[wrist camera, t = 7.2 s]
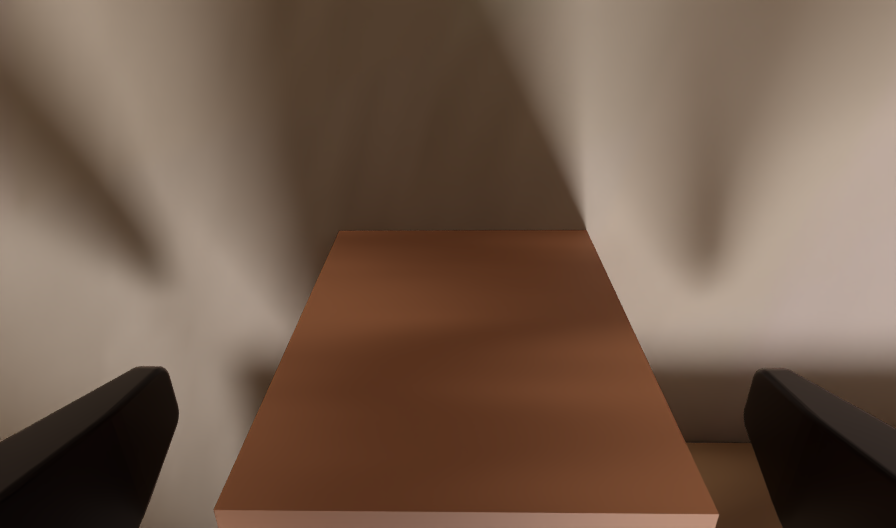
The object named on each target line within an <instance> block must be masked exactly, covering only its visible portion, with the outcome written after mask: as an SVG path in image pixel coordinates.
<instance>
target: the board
mask: <svg viewBox="0 0 896 528" xmlns="http://www.w3.org/2000/svg"><path fill="white" fill-rule="evenodd" d="M686 445H687V447H688V449H689V451H690V453H691V455H692V457H693V460H694V462H695V464H696V466H697V468H698V470H699V472H700V475H701V477H702V479H703V481H704V483H705V485H706V487H707V490H708V492H709V494H710V496H711V498H712V500H713V502H714V505H715V507H716V509H717V511H718V513H719V516H718V520H717V523H716V527H715V528H782V525H781V523H780V521H779V519H778V516H777V514H776V511H775V509H774V506H773V503H772V501H771V498H770V495H769V492H768V489H767V487H766V484H765V481H764V478H763V475H762V473H761V470H760V467H759V464H758V461H757V459H756V456H755V453H754V450H753V447H752V444H751V443H686Z"/></svg>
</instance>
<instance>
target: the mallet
mask: <svg viewBox="0 0 896 528" xmlns="http://www.w3.org/2000/svg"><path fill="white" fill-rule="evenodd" d="M214 513H215V517H216V521H217V524H218V528H715V527H716V523H717V520H718V516H719V513H718V511H717V509H716V507H715V505H714V502H713V500H712V498H711V496H710V494H709V492H708V490H707V487H706V485H705V483H704V481H703V479H702V477H701V475H700V472H699V470H698V468H697V466H696V464H695V462H694V460H693V457H692V455H691V453H690V451H689V449H688V447H687V445H686V442H685V440H684V438H683V436H682V434H681V432H680V429H679V427H678V425H677V423H676V421H675V419H674V417H673V414H672V412H671V410H670V408H669V406H668V404H667V402H666V399H665V397H664V395H663V393H662V391H661V389H660V387H659V384H658V382H657V380H656V378H655V376H654V374H653V372H652V369H651V367H650V365H649V363H648V361H647V359H646V357H645V354H644V352H643V350H642V348H641V346H640V344H639V342H638V339H637V337H636V335H635V333H634V331H633V329H632V327H631V324H630V322H629V320H628V318H627V316H626V314H625V312H624V309H623V307H622V305H621V303H620V301H619V299H618V297H617V294H616V292H615V290H614V288H613V286H612V284H611V282H610V279H609V277H608V275H607V273H606V271H605V269H604V267H603V264H602V262H601V260H600V258H599V256H598V254H597V252H596V249H595V247H594V245H593V243H592V241H591V239H590V237H589V234H588V232H587V230H429V231H339V232H338V235H337V237H336V239H335V241H334V244H333V246H332V248H331V250H330V252H329V255H328V257H327V259H326V261H325V264H324V266H323V268H322V270H321V272H320V275H319V277H318V279H317V281H316V284H315V286H314V288H313V290H312V292H311V295H310V297H309V299H308V301H307V304H306V306H305V308H304V310H303V312H302V315H301V317H300V319H299V321H298V324H297V326H296V328H295V330H294V332H293V335H292V337H291V339H290V341H289V344H288V346H287V348H286V350H285V352H284V355H283V357H282V359H281V361H280V364H279V366H278V368H277V370H276V372H275V375H274V377H273V379H272V381H271V384H270V386H269V388H268V390H267V392H266V395H265V397H264V399H263V401H262V404H261V406H260V408H259V410H258V412H257V415H256V417H255V419H254V421H253V424H252V426H251V428H250V430H249V432H248V435H247V437H246V439H245V441H244V444H243V446H242V448H241V450H240V452H239V455H238V457H237V459H236V461H235V464H234V466H233V468H232V470H231V472H230V475H229V477H228V479H227V481H226V484H225V486H224V488H223V490H222V492H221V495H220V497H219V499H218V501H217V504H216V506H215V508H214Z"/></svg>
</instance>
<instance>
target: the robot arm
mask: <svg viewBox="0 0 896 528" xmlns="http://www.w3.org/2000/svg"><path fill="white" fill-rule="evenodd" d="M178 418H179V409H178V404H177V401H176V397H175V393H174V390H173V386H172V383H171V379H170V376H169V373H168V371H167V370H166V369H165V368H163V367H160V366H139V367H135V368H133V369H131V370H130V371H128V372H126V373H124V374H122V375H121V376H119V377H117V378H115V379H113V380H112V381H110V382H108V383H106V384H104V385H103V386H101V387H99V388H97V389H95V390H94V391H92V392H90V393H88V394H86V395H85V396H83V397H81V398H79V399H77V400H76V401H74V402H72V403H70V404H68V405H66V406H65V407H63V408H61V409H59V410H57V411H56V412H54V413H52V414H50V415H48V416H47V417H45V418H43V419H41V420H39V421H38V422H36V423H34V424H32V425H30V426H29V427H27V428H25V429H23V430H21V431H20V432H18V433H16V434H14V435H12V436H11V437H9V438H7V439H5V440H3V441H2V442H0V528H139V525H140V523H141V521H142V519H143V517H144V514H145V512H146V509H147V507H148V504H149V502H150V499H151V496H152V494H153V491H154V488H155V485H156V482H157V480H158V477H159V474H160V471H161V468H162V466H163V463H164V460H165V457H166V454H167V452H168V449H169V446H170V443H171V440H172V438H173V435H174V432H175V429H176V426H177V423H178ZM744 424H745V427H746V430H747V433H748V436H749V439H750V442H751V444H752V447H753V450H754V453H755V456H756V459H757V461H758V464H759V467H760V470H761V473H762V475H763V478H764V481H765V484H766V487H767V489H768V492H769V495H770V498H771V501H772V503H773V506H774V509H775V511H776V514H777V516H778V519H779V521H780V523H781V525H782V528H896V429H895V428H894V427H892V426H890V425H888V424H886V423H885V422H883V421H881V420H879V419H877V418H876V417H874V416H872V415H870V414H868V413H867V412H865V411H863V410H861V409H859V408H858V407H856V406H854V405H852V404H850V403H849V402H847V401H845V400H843V399H841V398H840V397H838V396H836V395H834V394H832V393H830V392H829V391H827V390H825V389H823V388H821V387H820V386H818V385H816V384H814V383H812V382H811V381H809V380H807V379H805V378H803V377H802V376H800V375H798V374H796V373H794V372H793V371H791V370H789V369H784V368H762V369H759V370H758V371H757V372H756V373H755V375H754V377H753V380H752V384H751V387H750V391H749V394H748V398H747V402H746V405H745V409H744Z"/></svg>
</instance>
